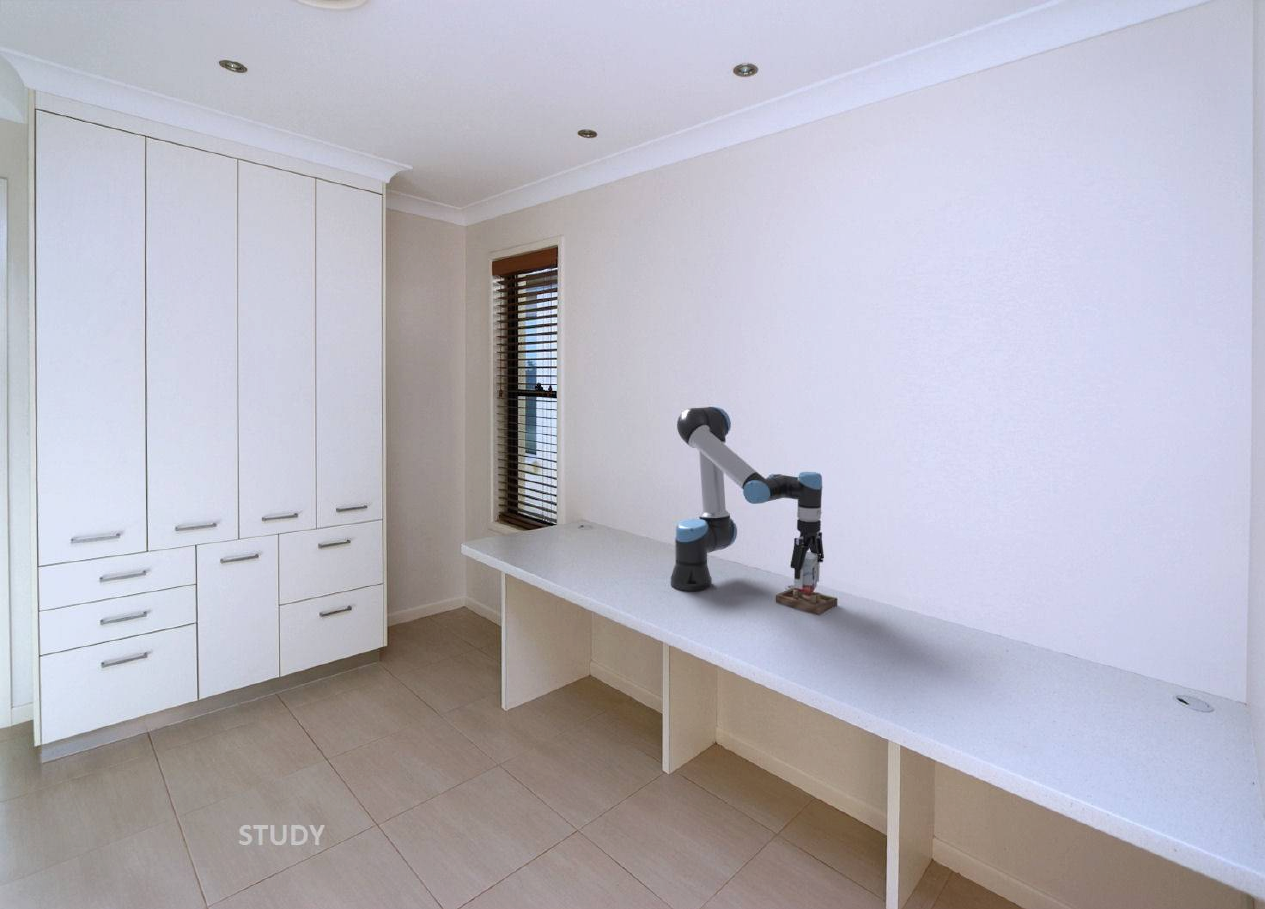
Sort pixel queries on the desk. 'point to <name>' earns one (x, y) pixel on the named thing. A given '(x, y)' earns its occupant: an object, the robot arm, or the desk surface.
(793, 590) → the peg frame
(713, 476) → the robot arm
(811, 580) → the ink box
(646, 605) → the desk surface
